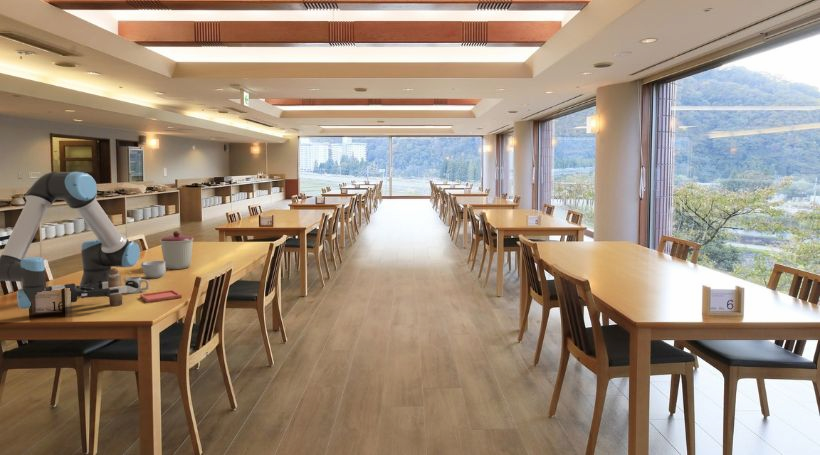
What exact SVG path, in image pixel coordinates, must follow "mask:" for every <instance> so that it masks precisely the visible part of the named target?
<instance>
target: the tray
mask: <svg viewBox="0 0 820 455" xmlns="http://www.w3.org/2000/svg"><path fill="white" fill-rule="evenodd" d="M139 296H140V298H139V299H142V300H143V301H144V302H145V303H147V304H151V303H157V302H165V301H170V300H176V299H178V300H179V299H182V298H183V297H182V293H179V292H178V291H176V290H174V289H169V290H168V289H167V290H162V291H156V292H147V293H140V295H139Z"/></svg>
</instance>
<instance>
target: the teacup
mask: <svg viewBox="0 0 820 455" xmlns="http://www.w3.org/2000/svg"><path fill="white" fill-rule="evenodd" d="M140 267H141V269H142V270H143V275H144V276H145V277H147V278H148V279H159V278H162V277H163V276H164V275H165V274H166V270H167V268H166V266H165V261H164V260H161V259H160V260H158V259H157V260H150V261H143V262H141V263H140Z"/></svg>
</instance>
